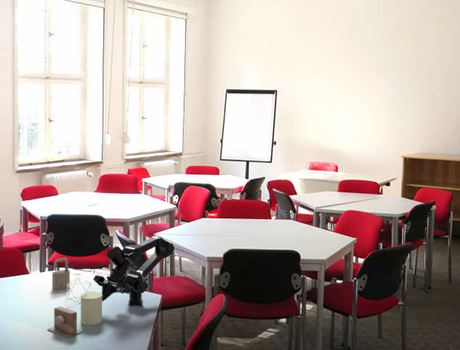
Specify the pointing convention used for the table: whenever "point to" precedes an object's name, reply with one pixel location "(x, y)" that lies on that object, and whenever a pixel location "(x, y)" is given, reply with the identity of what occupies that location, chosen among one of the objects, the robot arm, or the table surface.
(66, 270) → the padlock
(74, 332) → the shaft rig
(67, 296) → the geometric polyhedron
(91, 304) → the can
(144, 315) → the table surface
